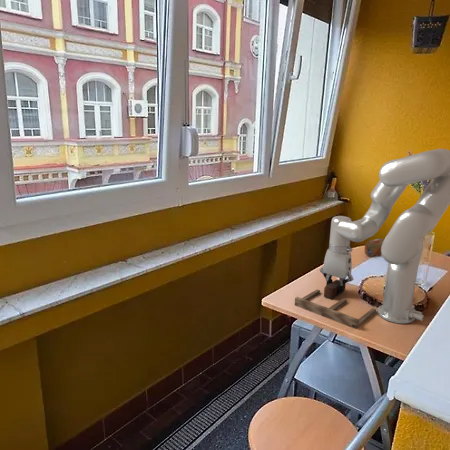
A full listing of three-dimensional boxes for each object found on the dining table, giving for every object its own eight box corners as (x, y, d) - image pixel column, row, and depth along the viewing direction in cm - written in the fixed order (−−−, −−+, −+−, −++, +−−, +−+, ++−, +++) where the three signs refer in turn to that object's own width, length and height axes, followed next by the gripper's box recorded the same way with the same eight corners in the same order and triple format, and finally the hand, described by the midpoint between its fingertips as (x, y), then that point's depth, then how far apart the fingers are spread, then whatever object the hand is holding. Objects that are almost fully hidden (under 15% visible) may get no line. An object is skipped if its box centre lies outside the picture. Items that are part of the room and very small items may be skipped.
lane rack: (375, 312, 146) (376, 305, 145) (356, 328, 135) (356, 320, 134) (316, 292, 162) (317, 285, 161) (294, 305, 151) (295, 297, 150)
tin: (367, 258, 201) (369, 242, 198) (362, 256, 203) (364, 240, 201) (387, 253, 208) (389, 238, 206) (382, 252, 210) (384, 236, 208)
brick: (332, 300, 155) (333, 289, 154) (323, 296, 158) (324, 285, 157) (345, 291, 163) (346, 281, 162) (336, 288, 166) (337, 278, 164)
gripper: (363, 251, 152) (358, 295, 157) (324, 241, 163) (320, 282, 168) (355, 255, 147) (350, 301, 152) (314, 245, 158) (311, 288, 163)
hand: (334, 291), depth 160 cm, fingers closed on brick, 4 cm apart
